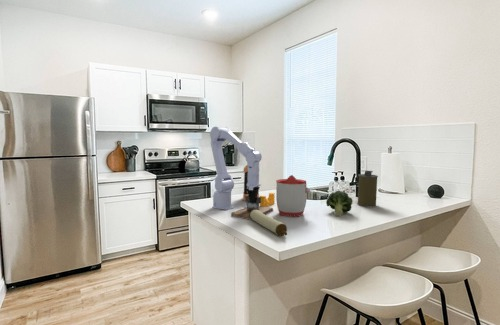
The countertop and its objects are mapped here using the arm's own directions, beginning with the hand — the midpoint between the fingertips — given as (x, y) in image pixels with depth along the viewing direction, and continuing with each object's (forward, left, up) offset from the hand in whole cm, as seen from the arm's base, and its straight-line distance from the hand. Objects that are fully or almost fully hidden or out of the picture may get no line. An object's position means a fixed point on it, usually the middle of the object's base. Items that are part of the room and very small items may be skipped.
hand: (253, 201), depth 148 cm
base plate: (0, 0, -6) cm, 6 cm away
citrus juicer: (+18, +9, -6) cm, 21 cm away
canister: (+47, +51, -6) cm, 70 cm away
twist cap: (0, 0, -4) cm, 4 cm away
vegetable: (+38, +23, -6) cm, 45 cm away
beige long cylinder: (+16, -17, -6) cm, 25 cm away
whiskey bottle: (-17, +28, -6) cm, 33 cm away
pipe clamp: (-2, +20, -6) cm, 21 cm away
